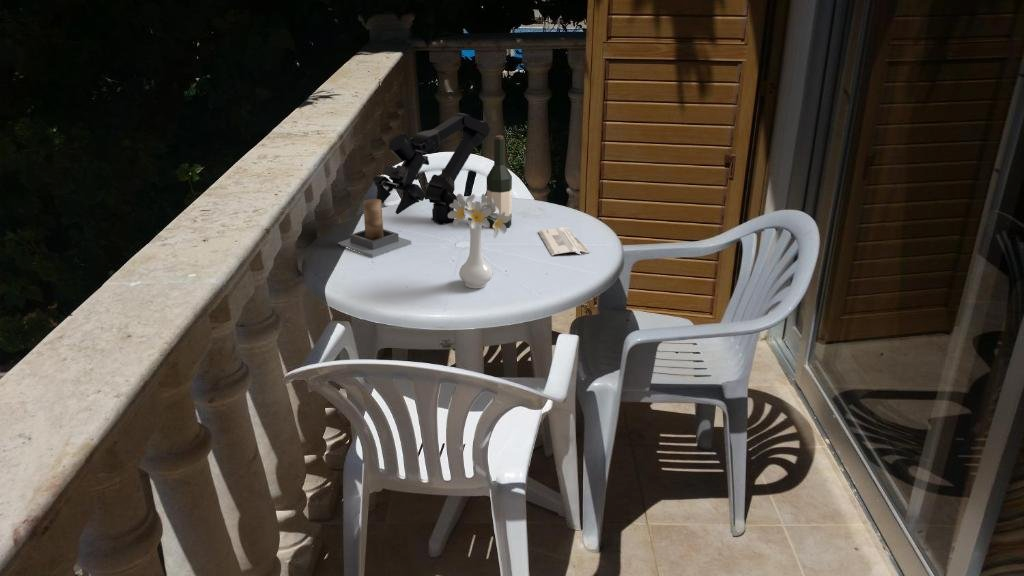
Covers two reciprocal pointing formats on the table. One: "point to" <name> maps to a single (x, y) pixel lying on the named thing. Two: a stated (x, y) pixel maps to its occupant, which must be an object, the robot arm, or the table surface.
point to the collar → (375, 243)
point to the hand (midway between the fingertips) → (386, 210)
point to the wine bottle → (500, 182)
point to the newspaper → (561, 241)
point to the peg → (373, 219)
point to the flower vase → (477, 236)
